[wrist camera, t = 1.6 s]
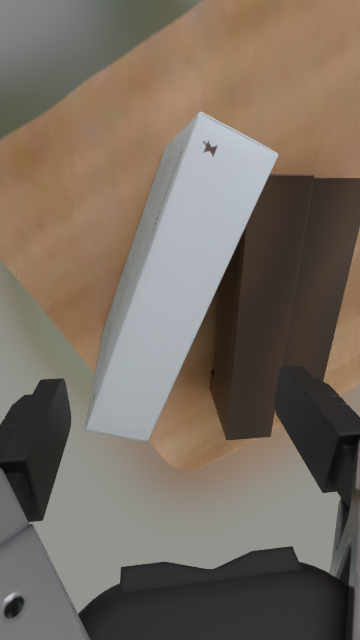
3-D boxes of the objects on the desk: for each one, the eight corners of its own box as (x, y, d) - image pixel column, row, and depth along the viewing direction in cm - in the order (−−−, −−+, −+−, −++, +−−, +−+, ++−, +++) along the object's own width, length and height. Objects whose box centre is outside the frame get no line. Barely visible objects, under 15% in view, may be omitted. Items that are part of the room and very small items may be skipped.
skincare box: (145, 345, 37) (147, 446, 23) (102, 332, 36) (74, 431, 21) (216, 168, 30) (284, 151, 16) (165, 144, 29) (188, 101, 14)
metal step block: (351, 179, 32) (423, 176, 24) (308, 383, 42) (347, 431, 34) (222, 177, 31) (250, 174, 22) (209, 389, 41) (226, 440, 33)
